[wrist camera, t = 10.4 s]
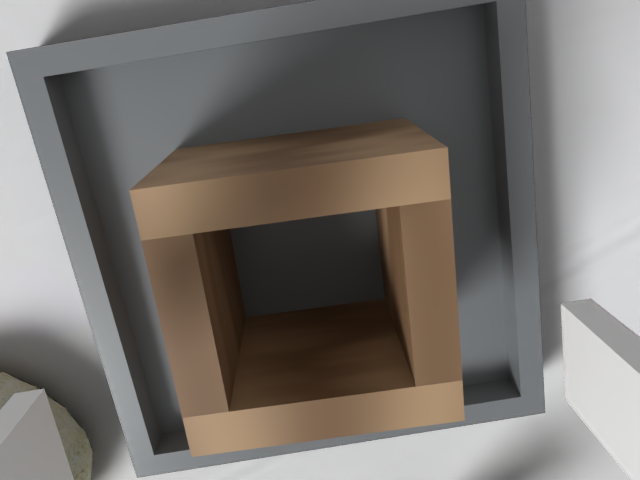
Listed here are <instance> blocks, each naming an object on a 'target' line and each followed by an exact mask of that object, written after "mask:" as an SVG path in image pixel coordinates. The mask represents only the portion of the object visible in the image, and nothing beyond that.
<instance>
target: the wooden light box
mask: <svg viewBox="0 0 640 480" xmlns="http://www.w3.org/2000/svg"><path fill="white" fill-rule="evenodd" d="M129 192H130V196H131V200H132V205H133V209H134V213H135V217H136V222H137V226H138V230H139V235H140V239H141V243H142V247H143V252H144V256H145V260H146V265H147V269H148V273H149V277H150V282H151V286H152V290H153V295H154V299H155V303H156V307H157V312H158V316H159V320H160V324H161V329H162V333H163V337H164V342H165V346H166V350H167V354H168V359H169V363H170V367H171V372H172V376H173V380H174V384H175V389H176V393H177V397H178V402H179V406H180V410H181V414H182V419H183V423H184V427H185V432H186V436H187V440H188V444H189V449H190V453H191V457H196V456H203V455H211V454H218V453H226V452H233V451H241V450H248V449H256V448H263V447H271V446H278V445H286V444H293V443H301V442H308V441H316V440H323V439H330V438H338V437H345V436H353V435H360V434H368V433H375V432H383V431H390V430H398V429H405V428H413V427H420V426H428V425H435V424H443V423H450V422H458V421H465V413H464V397H463V381H462V366H461V350H460V334H459V318H458V302H457V286H456V270H455V254H454V238H453V222H452V206H451V190H450V174H449V158H448V147H447V146H445V145H444V144H442V143H441V142H439V141H438V140H436V139H435V138H433V137H432V136H430V135H429V134H428V133H426V132H425V131H423V130H422V129H420V128H419V127H417V126H416V125H414V124H413V123H411V122H410V121H408V120H407V119H406V118H401V119H394V120H386V121H379V122H371V123H364V124H357V125H349V126H342V127H334V128H327V129H320V130H312V131H305V132H297V133H290V134H283V135H275V136H268V137H260V138H253V139H246V140H238V141H231V142H223V143H216V144H209V145H201V146H194V147H187V148H179V149H175V150H174V151H173V152H172V153H171V154H170V155H169V156H167V157H166V158H165V159H164V160H163V161H162V162H161V163H160V164H158V165H157V166H156V167H155V168H154V169H153V170H152V171H150V172H149V173H148V174H147V175H146V176H145V177H144V178H143V179H141V180H140V181H139V182H138V183H137V184H136V185H135V186H134V187H132V188H131V189H130V190H129ZM373 209H376V219H377V228H378V238H379V248H380V257H381V267H382V276H383V286H384V296H385V299H378V300H371V301H363V302H356V303H348V304H341V305H334V306H326V307H319V308H311V309H304V310H296V311H289V312H281V313H274V314H267V315H259V316H252V317H246V315H245V309H244V304H243V298H242V293H241V287H240V282H239V277H238V271H237V266H236V260H235V255H234V249H233V244H232V239H231V233H230V229H232V228H239V227H247V226H254V225H262V224H269V223H277V222H284V221H291V220H299V219H306V218H314V217H321V216H328V215H336V214H343V213H351V212H358V211H366V210H373Z"/></svg>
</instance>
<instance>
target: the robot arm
mask: <svg viewBox="0 0 640 480" xmlns="http://www.w3.org/2000/svg"><path fill="white" fill-rule="evenodd" d="M561 320H562V339H563V359H564V379H565V399H566V401H567V402H568V403H569V405H570V406H571V407H572V408H573V409H574V411H575V412H576V413H577V414H578V416H579V417H580V418H581V419H582V421H583V422H584V423H585V424H586V425H587V427H588V428H589V429H590V430H591V432H592V433H593V434H594V435H595V437H596V438H597V439H598V440H599V442H600V443H601V444H602V445H603V446H604V448H605V449H606V450H607V451H608V453H609V454H610V455H611V456H612V458H613V459H614V460H615V461H616V462H617V464H618V465H619V466H620V467H621V469H622V470H623V471H624V472H625V474H626V475H627V476H628V477H629V478H630V480H640V337H639V336H638V335H637V334H635V333H634V332H633V331H632V330H630V329H629V328H628V327H627V326H625V325H624V324H623V323H621V322H620V321H619V320H618V319H616V318H615V317H614V316H613V315H611V314H610V313H609V312H607V311H606V310H605V309H604V308H602V307H601V306H600V305H599V304H597V303H596V302H595V301H593V300H592V299H585V300H579V301H573V302H567V303H561ZM0 480H74V478H73V475H72V472H71V469H70V466H69V463H68V460H67V457H66V454H65V451H64V447H63V444H62V441H61V438H60V435H59V432H58V429H57V426H56V423H55V420H54V417H53V414H52V411H51V408H50V404H49V401H48V398H47V395H46V392H45V389H38V390H32V391H26V392H20V393H14V394H13V396H12V397H11V398H10V399H9V400H8V401H7V403H6V404H5V405H4V406H3V407H2V408H1V410H0Z"/></svg>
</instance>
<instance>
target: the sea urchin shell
mask: <svg viewBox="0 0 640 480" xmlns="http://www.w3.org/2000/svg"><path fill="white" fill-rule="evenodd" d="M32 390H38V388H37V386H32V385H30V384H28V383H26V382H23V381H20V380H18V379H17V378H15V377H13V376H11V375H9V374H7V373H5V372H0V410H1V408H2V407H3V406H4V405H5V404H6V403H7V401H8V400H9V399H10V398H11V397H12V396H13V394H14V393H20V392H26V391H32ZM47 398H48V401H49V404H50V408H51V411H52V414H53V417H54V420H55V423H56V426H57V429H58V432H59V435H60V438H61V441H62V444H63V447H64V451H65V454H66V457H67V460H68V463H69V466H70V469H71V472H72V475H73V478H74V480H91V470H92V455H93V453H94V451H93V450H92V449H91V446H90V443H89V440H88V438H87V436H86V433H85V430H84V429H82V428H81V427H80V426H79V425H78V423H77V422H76V421H75V420H74V418H73V417H72V416H71V415H70V414H69V413H68V412H67V409H66V408H65V407H63V406H61V405H60V404H59V403H57V402H55V401H54V400H52V399H51V398H50V397H48V396H47Z"/></svg>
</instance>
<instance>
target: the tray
mask: <svg viewBox="0 0 640 480" xmlns="http://www.w3.org/2000/svg"><path fill="white" fill-rule="evenodd" d="M6 53H7V56H8V60H9V63H10V66H11V69H12V73H13V76H14V79H15V82H16V86H17V89H18V92H19V95H20V99H21V102H22V105H23V108H24V112H25V115H26V118H27V121H28V125H29V128H30V131H31V134H32V138H33V141H34V144H35V147H36V151H37V154H38V157H39V160H40V164H41V167H42V170H43V173H44V177H45V180H46V183H47V186H48V190H49V193H50V196H51V200H52V203H53V206H54V209H55V213H56V216H57V219H58V222H59V226H60V229H61V232H62V235H63V239H64V242H65V245H66V248H67V252H68V255H69V258H70V261H71V265H72V268H73V271H74V274H75V278H76V281H77V284H78V287H79V291H80V294H81V297H82V300H83V304H84V307H85V310H86V313H87V317H88V320H89V323H90V326H91V330H92V333H93V336H94V339H95V343H96V346H97V349H98V352H99V356H100V359H101V362H102V365H103V369H104V372H105V375H106V378H107V382H108V385H109V388H110V391H111V395H112V398H113V401H114V404H115V408H116V411H117V414H118V417H119V421H120V424H121V427H122V430H123V434H124V437H125V440H126V443H127V447H128V450H129V453H130V456H131V460H132V463H133V466H134V469H135V473H136V476H137V478H139V477H145V476H151V475H158V474H164V473H170V472H177V471H183V470H189V469H195V468H202V467H208V466H214V465H221V464H227V463H233V462H240V461H246V460H252V459H258V458H265V457H271V456H277V455H284V454H290V453H296V452H302V451H309V450H315V449H321V448H328V447H334V446H340V445H347V444H353V443H359V442H365V441H372V440H378V439H384V438H391V437H397V436H403V435H409V434H416V433H422V432H428V431H435V430H441V429H447V428H453V427H460V426H466V425H472V424H479V423H485V422H491V421H498V420H504V419H510V418H516V417H523V416H529V415H535V414H542V413H545V398H544V377H543V357H542V336H541V315H540V294H539V274H538V253H537V232H536V211H535V191H534V170H533V149H532V128H531V108H530V87H529V66H528V46H527V25H526V4H525V0H313V1H307V2H301V3H295V4H290V5H284V6H278V7H272V8H266V9H260V10H254V11H248V12H242V13H236V14H230V15H224V16H218V17H212V18H206V19H200V20H194V21H188V22H182V23H176V24H170V25H164V26H159V27H153V28H147V29H141V30H135V31H129V32H123V33H117V34H111V35H105V36H99V37H93V38H87V39H81V40H75V41H69V42H63V43H57V44H51V45H45V46H39V47H33V48H28V49H22V50H16V51H10V52H6ZM401 118H406V119H407V120H408V121H410V122H411V123H413V124H414V125H416V126H417V127H419V128H420V129H422V130H423V131H425V132H426V133H428V134H429V135H430V136H432V137H433V138H435V139H436V140H438V141H439V142H441V143H442V144H444V145H445V146H447V147H448V158H449V174H450V190H451V206H452V222H453V238H454V254H455V270H456V286H457V302H458V318H459V334H460V350H461V366H462V381H463V397H464V413H465V421H458V422H450V423H443V424H435V425H428V426H420V427H413V428H405V429H398V430H390V431H383V432H375V433H368V434H360V435H353V436H345V437H338V438H330V439H323V440H316V441H308V442H301V443H293V444H286V445H278V446H271V447H263V448H256V449H248V450H241V451H233V452H226V453H218V454H211V455H203V456H196V457H191V453H190V449H189V444H188V440H187V436H186V432H185V427H184V423H183V419H182V414H181V410H180V406H179V402H178V397H177V393H176V389H175V384H174V380H173V376H172V372H171V367H170V363H169V359H168V354H167V350H166V346H165V342H164V337H163V333H162V329H161V324H160V320H159V316H158V312H157V307H156V303H155V299H154V295H153V290H152V286H151V282H150V277H149V273H148V269H147V265H146V260H145V256H144V252H143V247H142V243H141V239H140V235H139V230H138V226H137V222H136V217H135V213H134V209H133V205H132V200H131V196H130V192H129V190H130V189H131V188H132V187H134V186H135V185H136V184H137V183H138V182H139V181H140V180H141V179H143V178H144V177H145V176H146V175H147V174H148V173H149V172H150V171H152V170H153V169H154V168H155V167H156V166H157V165H158V164H160V163H161V162H162V161H163V160H164V159H165V158H166V157H167V156H169V155H170V154H171V153H172V152H173V151H174V150H175V149H179V148H187V147H194V146H201V145H209V144H216V143H223V142H231V141H238V140H246V139H253V138H260V137H268V136H275V135H283V134H290V133H297V132H305V131H312V130H320V129H327V128H334V127H342V126H349V125H357V124H364V123H371V122H379V121H386V120H394V119H401ZM230 233H231V239H232V244H233V249H234V255H235V260H236V266H237V271H238V277H239V282H240V287H241V293H242V298H243V304H244V309H245V315H246V317H252V316H259V315H267V314H274V313H281V312H289V311H296V310H304V309H311V308H319V307H326V306H334V305H341V304H348V303H356V302H363V301H371V300H378V299H385V296H384V286H383V276H382V267H381V257H380V248H379V238H378V228H377V219H376V209H373V210H366V211H358V212H351V213H343V214H336V215H328V216H321V217H314V218H306V219H299V220H291V221H284V222H277V223H269V224H262V225H254V226H247V227H239V228H232V229H230Z"/></svg>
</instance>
